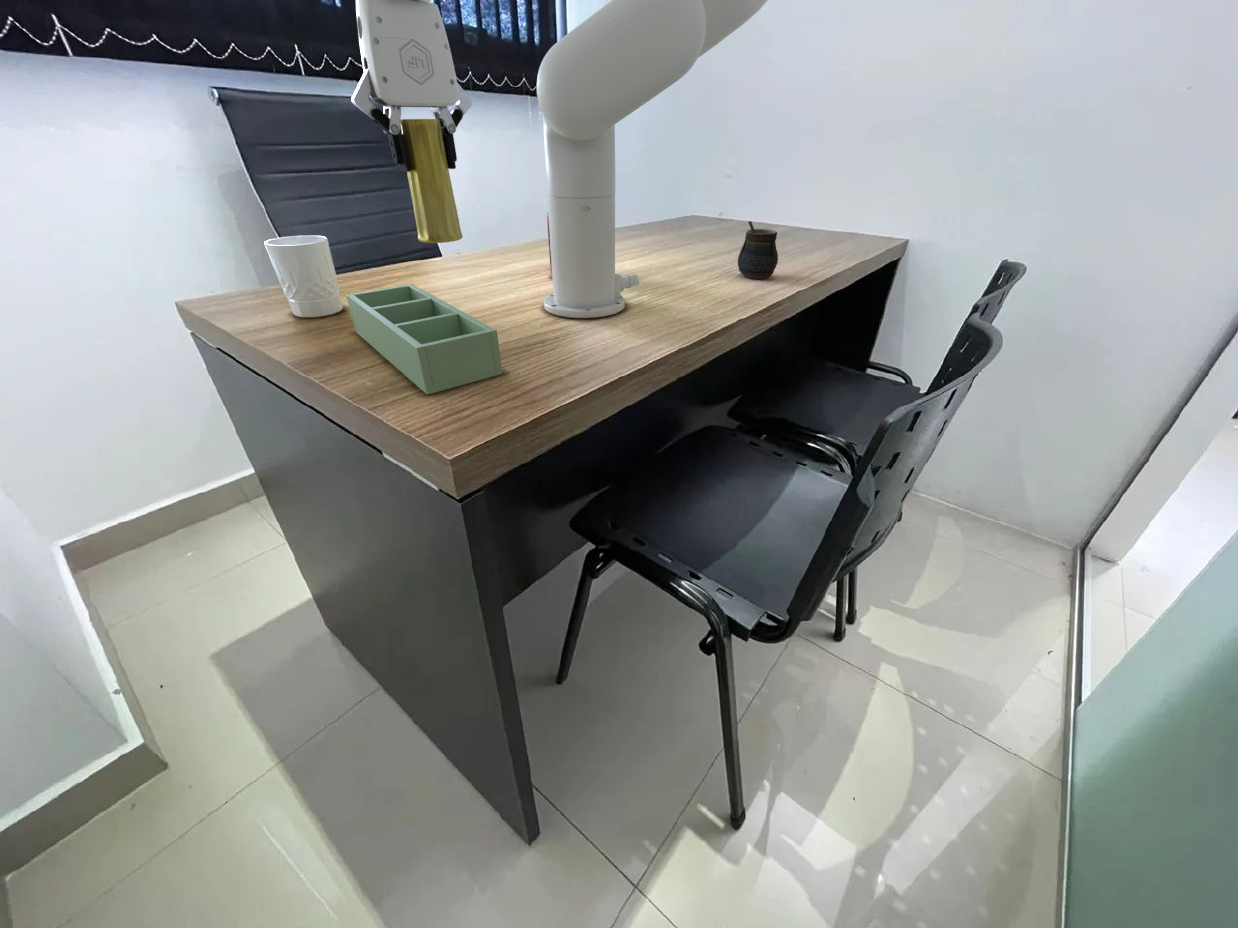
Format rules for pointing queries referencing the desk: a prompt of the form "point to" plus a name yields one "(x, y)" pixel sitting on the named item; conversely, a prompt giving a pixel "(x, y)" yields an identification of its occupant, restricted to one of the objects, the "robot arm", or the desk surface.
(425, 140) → the vase
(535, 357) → the desk surface
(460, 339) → the compartment tray
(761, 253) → the mate gourd
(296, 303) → the white cup
